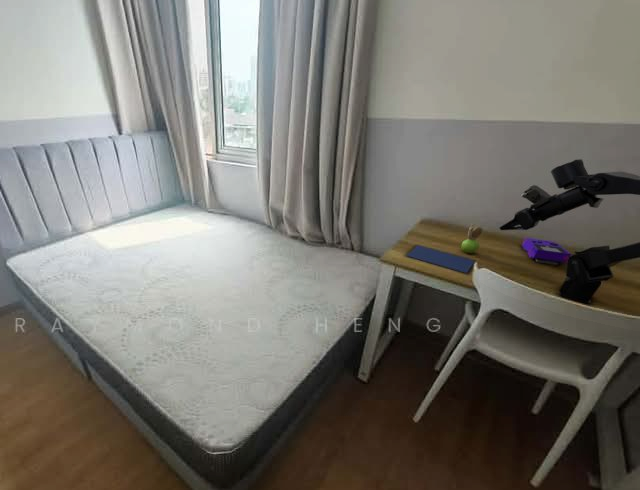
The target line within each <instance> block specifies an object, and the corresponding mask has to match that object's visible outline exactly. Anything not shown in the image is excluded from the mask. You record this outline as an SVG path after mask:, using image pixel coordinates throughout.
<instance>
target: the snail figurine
mask: <svg viewBox="0 0 640 490" xmlns="http://www.w3.org/2000/svg"><path fill="white" fill-rule="evenodd" d="M474 226H475V225H474V224H473V223H470V227H469V228H468V232H467V239H465V240H463V242H462V243H461V246H460V247H461V250H462V251H463V252H465V253H467V254H473V253H475V252H476V251H477V250H478V249H479V248H480V243H479V241H478V240H477V239H478V238H479V237H480V236H481V234H482V233H483V227H481V226H475V227H474Z"/></svg>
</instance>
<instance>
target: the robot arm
mask: <svg viewBox="0 0 640 490" xmlns="http://www.w3.org/2000/svg"><path fill="white" fill-rule="evenodd" d="M550 173H551V176H552V178H553V180H554V182H555V184H556V186H557V188H558V189H563V190H566V191H562V192H560V193H555V194H553V195H551V194H550V193H548V192H547V191H545V190H544V189H542V188H541V187H540V186H538V185H535V184H533V185H531V186H529V187H528V188H527V189H526V190H524V191H523V193H522V194H521V195H520V196H521V197H522V198H523V199H524V198H525V199H526V200H528V201H529V202H530V203H532V204H531V205H530V206H529V207H525V208H523V209H521V210H518V211H516V212H515V213H514V216H513V219H511V220H509V221H507V222H506V223H504V224H502V225H501V226H499V230H500V231H517V230H522V231H528V230H531V229H533V228H535V227H537V226H538V225H539V223H540V222H545V221H547V220H549V219H551V218H553V217H556V216H560V215H563V214H565V213H566V212H569V211H572V210H575V209H577V208H580V207H582V206H585V205H588V206H589V207H590V208H594V209H598V208H599V207H600V205H601V203H602V202H603V201H604V198H602V197H598V196H606V195H607V196H608V195H609V196H610V195H611V196H612V195H636V196H640V175H638V174H635V173H630V172H626V171H621V170H620V171H607V172H598V173H592V174H589V173H588V171H587V169H586V166H585V165H584V160H583V159H582V158H580V159H579V158H578V159H574V160H572V161H569V162H566V163H563V164H562V165H558V166H556V167H554V168H552V170H551V171H550ZM634 259H635V260H636V259H640V241H639V242H634V243H631V244H627V245H623V246H619V247H615V248H611V247H610V245H608V244H607V245H600V246H599V245H598V246H591V247H589V248H586V249H583V250H577V251H574V254H571V255H570V257H569V258H568V260H567V262H566V272H565V273H566V274H565V277H564V280H563V281H562V283H561V285H560V286H559V289H558V292H559V297H562V298H566V299H569V300H572V301H577V302H579V303H583V304H587V305H590V303H591V300H592V298H593V296H594V295H595V294H596V292H597V291H598V290H599V289H600V287H601V285H602V282H607V281H609V280H611V279H612V278H614V274H613V271H612V269H611V267H612V268H613V267H614V266H616V265H618V264H620V263H622V262H627V261H631V260H634Z"/></svg>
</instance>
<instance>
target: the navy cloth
mask: <svg viewBox="0 0 640 490" xmlns="http://www.w3.org/2000/svg"><path fill="white" fill-rule="evenodd" d="M406 257H407V258H410V259H415V260H418V261H420V262H421V261H422V262H425V263H428V264H431V265H435V266H439V267H442V268H446V269H449V270H453V271H456V272H459V273H462V274H465V275H466V274H468V272H469V271H470V270H471V268H472V266H473V265H474V263H475V262H476V260H475V259H472V258H467V257H463V256H460V255H455V254H452V253H449V252H446V251H440V250H437V249H434V248H429V247H426V246H423V245H416V246H415V247H413V249H412V250H411V251H409V253H407V254H406Z"/></svg>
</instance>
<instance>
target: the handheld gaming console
mask: <svg viewBox="0 0 640 490" xmlns="http://www.w3.org/2000/svg"><path fill="white" fill-rule="evenodd" d="M522 248H523V250H524V251H527V252H526V253H527V255H528V257H529V258H530V259H535V262H536V263H540V264H547V265H553V266H558V265H559V263H561V264H562V263H565V264H567V260H568V259H569V257H570V256H571V255H572V253H570V252H569V251H568V250H567V249H566V248H564V247H563V246H561V245H560V244H558V243H557V242H556V241H552V240H545V239H537V238H527V237H525V238H524V240H523V242H522Z"/></svg>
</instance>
